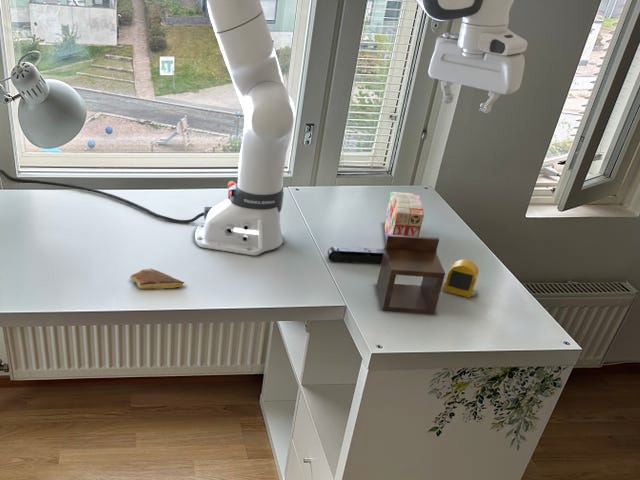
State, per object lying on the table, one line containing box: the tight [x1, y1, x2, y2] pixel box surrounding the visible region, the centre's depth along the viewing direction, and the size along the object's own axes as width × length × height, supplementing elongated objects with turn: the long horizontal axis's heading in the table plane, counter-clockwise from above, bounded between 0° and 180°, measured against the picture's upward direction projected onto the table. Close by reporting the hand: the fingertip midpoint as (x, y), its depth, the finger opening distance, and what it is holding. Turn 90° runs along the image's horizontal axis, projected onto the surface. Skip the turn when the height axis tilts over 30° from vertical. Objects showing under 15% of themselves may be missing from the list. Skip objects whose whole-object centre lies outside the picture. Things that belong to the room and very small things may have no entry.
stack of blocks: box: [384, 191, 425, 240], centre depth 176 cm, size 21×6×12 cm, turn 168°
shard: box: [129, 268, 186, 290], centre depth 157 cm, size 11×8×2 cm
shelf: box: [376, 234, 446, 315], centre depth 150 cm, size 11×11×13 cm
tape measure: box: [442, 259, 479, 299], centre depth 156 cm, size 7×4×7 cm, turn 60°
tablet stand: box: [327, 246, 384, 265], centre depth 169 cm, size 18×3×3 cm, turn 86°
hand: (465, 107), depth 150 cm, fingers open, 8 cm apart
